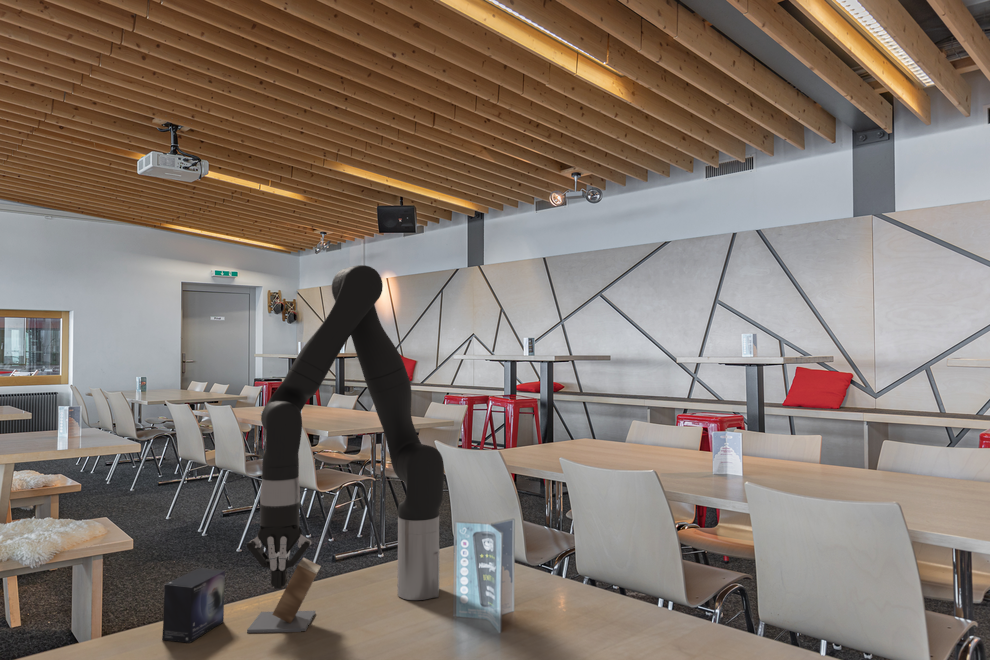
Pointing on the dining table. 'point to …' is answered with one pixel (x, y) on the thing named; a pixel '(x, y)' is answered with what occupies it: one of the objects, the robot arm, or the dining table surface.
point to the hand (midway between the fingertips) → (279, 587)
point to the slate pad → (280, 623)
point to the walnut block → (296, 590)
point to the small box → (193, 604)
